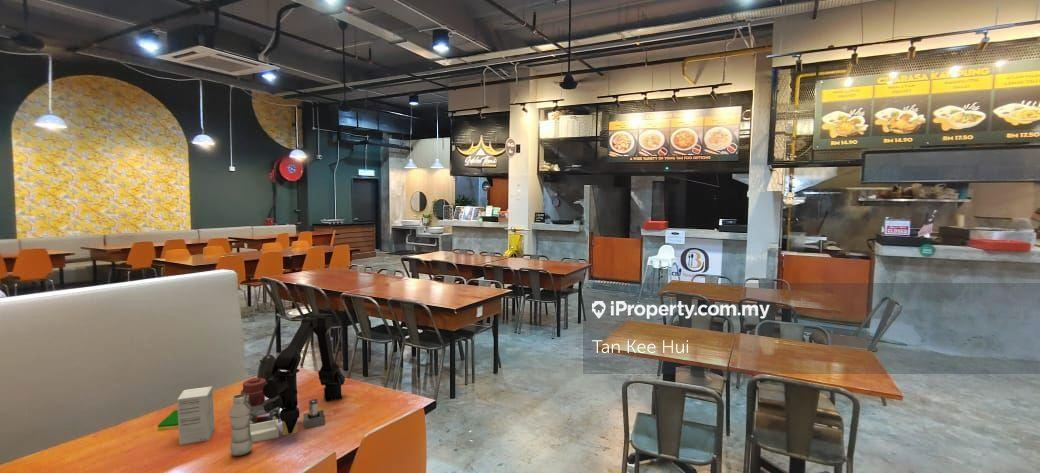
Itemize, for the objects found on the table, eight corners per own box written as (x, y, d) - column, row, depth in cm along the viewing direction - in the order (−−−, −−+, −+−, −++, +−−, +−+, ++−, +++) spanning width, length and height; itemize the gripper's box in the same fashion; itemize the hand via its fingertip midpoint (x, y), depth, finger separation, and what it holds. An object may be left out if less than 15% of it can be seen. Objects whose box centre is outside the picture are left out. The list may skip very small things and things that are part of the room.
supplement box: (185, 433, 174) (183, 389, 173) (215, 428, 177) (212, 385, 176) (178, 445, 165) (176, 399, 164) (209, 440, 169) (207, 394, 168)
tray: (278, 426, 179) (278, 419, 179) (278, 437, 171) (278, 429, 170) (243, 433, 174) (243, 425, 173) (242, 445, 165) (241, 436, 165)
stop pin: (317, 420, 184) (317, 398, 183) (318, 423, 181) (317, 401, 181) (309, 422, 182) (308, 399, 182) (310, 425, 180) (309, 402, 179)
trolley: (280, 411, 192) (279, 388, 191) (280, 422, 183) (279, 397, 182) (246, 418, 186) (245, 393, 186) (244, 429, 177) (243, 403, 176)
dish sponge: (157, 431, 176) (157, 425, 176) (174, 415, 190) (174, 410, 190) (178, 429, 178) (178, 423, 178) (194, 414, 191) (194, 408, 191)
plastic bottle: (236, 448, 163) (233, 392, 161) (256, 447, 163) (254, 391, 162) (226, 458, 156) (223, 400, 155) (247, 457, 157) (245, 399, 156)
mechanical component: (252, 402, 201) (274, 403, 200) (235, 412, 191) (258, 413, 190) (251, 374, 200) (273, 375, 199) (234, 383, 190) (257, 384, 189)
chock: (297, 428, 178) (296, 417, 178) (297, 432, 175) (297, 422, 174) (282, 431, 176) (282, 420, 175) (282, 435, 172) (282, 425, 172)
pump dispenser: (251, 390, 215) (250, 357, 214) (267, 381, 225) (265, 350, 224) (271, 391, 213) (270, 358, 212) (286, 383, 223) (285, 351, 222)
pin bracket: (322, 417, 186) (322, 410, 186) (324, 424, 180) (324, 417, 180) (303, 421, 183) (303, 414, 183) (304, 428, 177) (304, 421, 177)
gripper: (263, 383, 179) (265, 423, 180) (263, 401, 162) (265, 444, 163) (296, 378, 184) (297, 416, 185) (298, 395, 167) (300, 437, 168)
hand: (289, 428), depth 175 cm, fingers open, 8 cm apart
